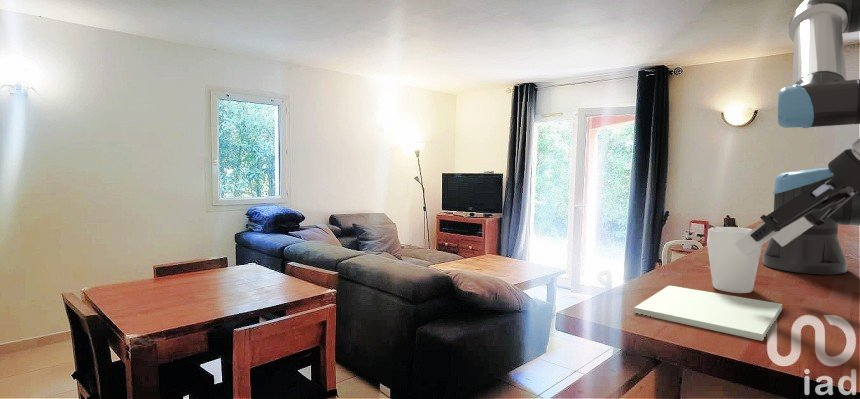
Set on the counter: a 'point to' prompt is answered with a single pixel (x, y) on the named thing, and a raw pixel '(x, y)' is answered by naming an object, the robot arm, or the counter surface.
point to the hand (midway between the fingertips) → (759, 245)
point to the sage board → (712, 311)
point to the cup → (731, 260)
